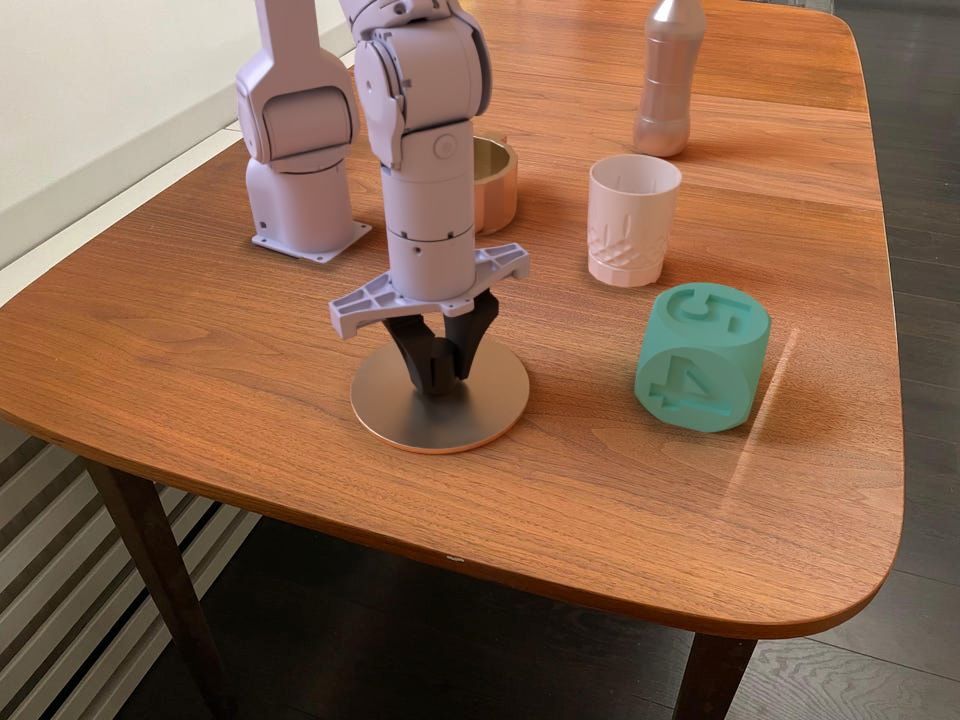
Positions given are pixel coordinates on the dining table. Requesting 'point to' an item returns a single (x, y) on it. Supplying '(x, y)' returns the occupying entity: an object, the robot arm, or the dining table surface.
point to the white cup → (630, 217)
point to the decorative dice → (702, 356)
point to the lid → (440, 398)
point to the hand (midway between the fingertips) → (439, 379)
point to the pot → (494, 182)
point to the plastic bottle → (668, 76)
